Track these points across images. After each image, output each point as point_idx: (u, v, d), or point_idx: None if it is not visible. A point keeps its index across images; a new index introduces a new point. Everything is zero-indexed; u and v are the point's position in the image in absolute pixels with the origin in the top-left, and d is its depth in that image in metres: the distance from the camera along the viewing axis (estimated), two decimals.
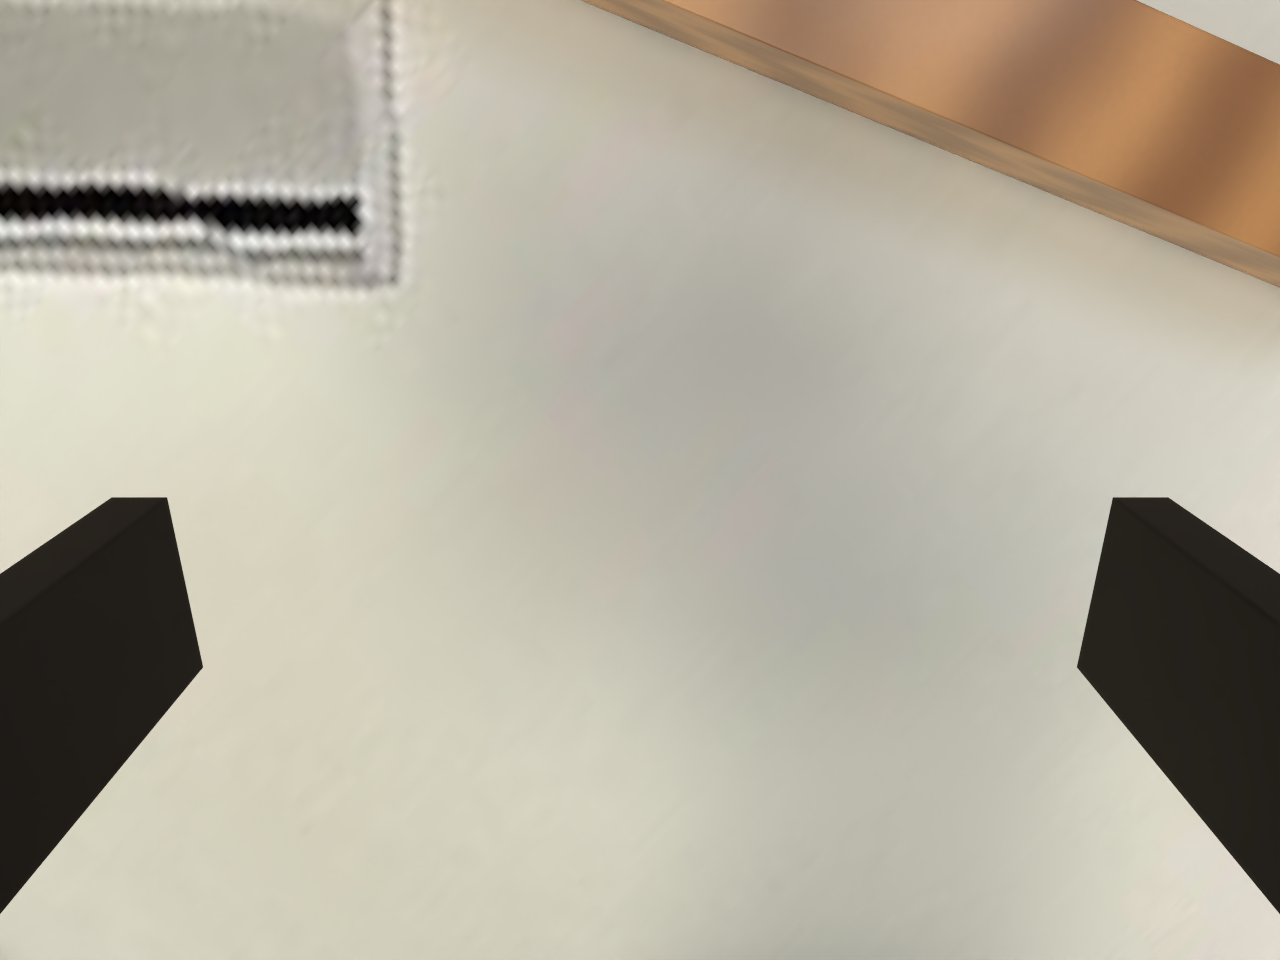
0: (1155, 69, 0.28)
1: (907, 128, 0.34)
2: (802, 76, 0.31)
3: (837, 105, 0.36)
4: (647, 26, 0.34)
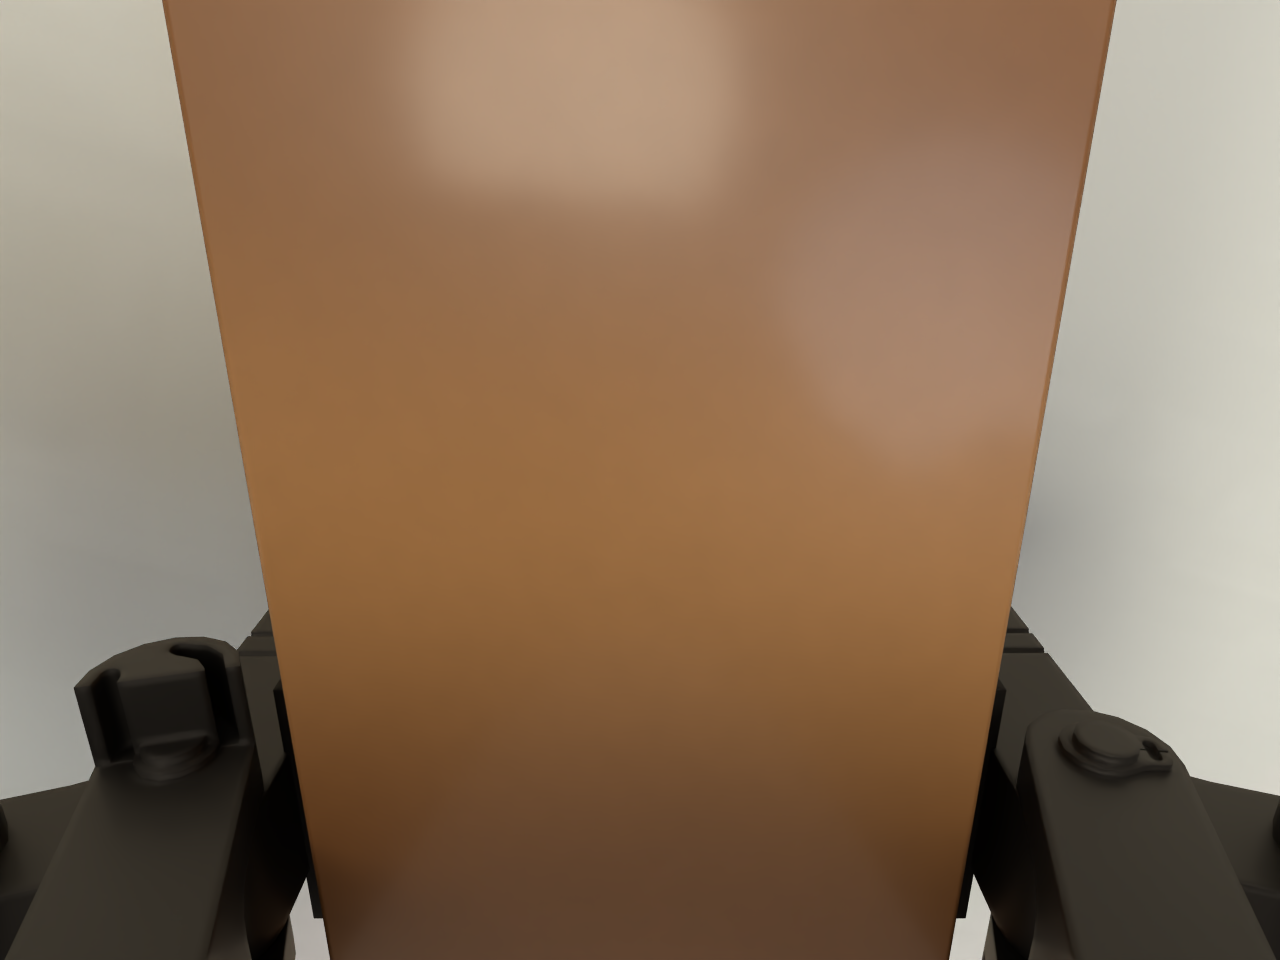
0: None
1: None
2: None
3: None
4: None
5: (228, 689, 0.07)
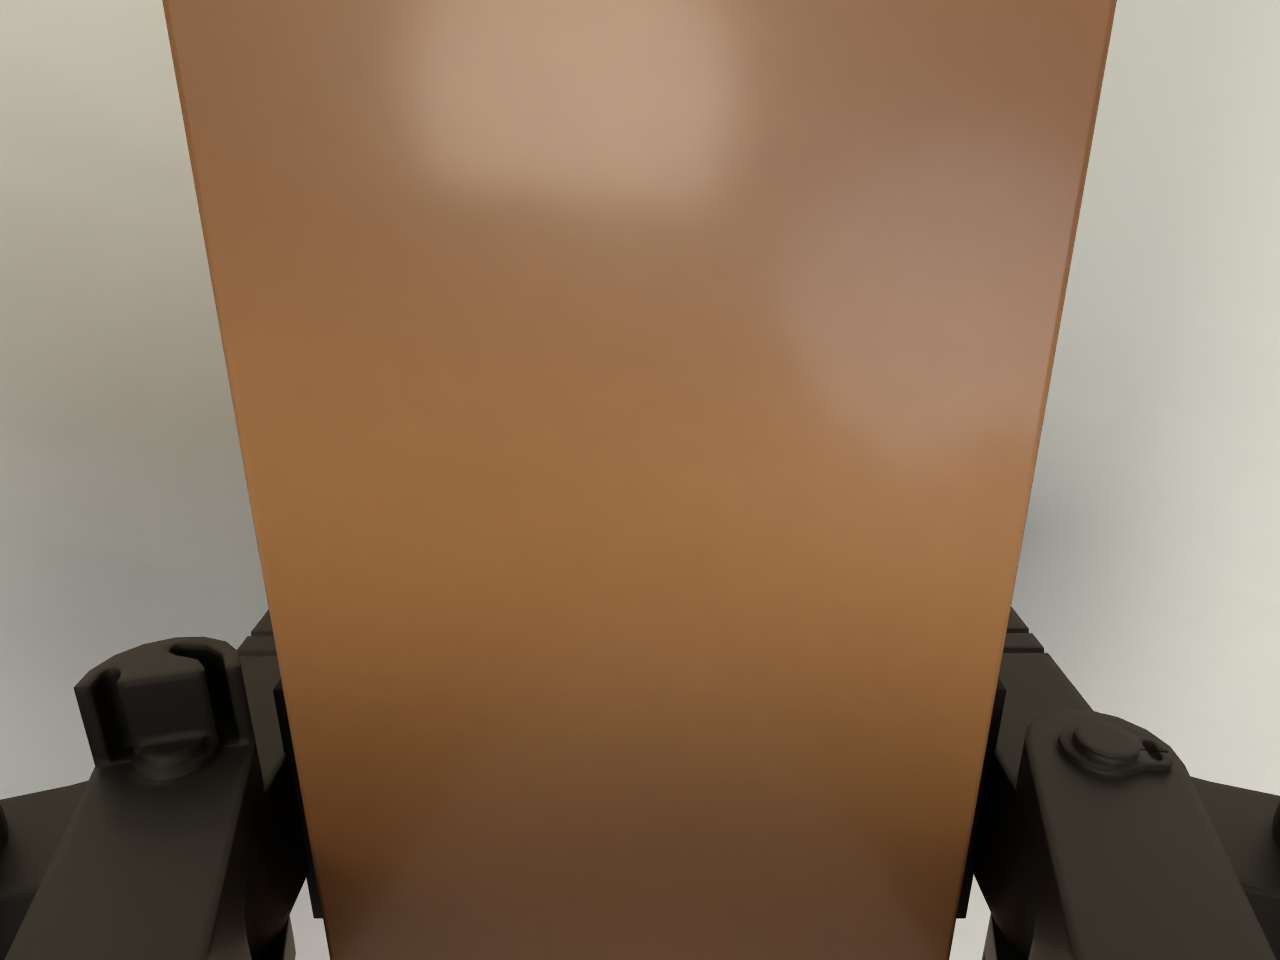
0: None
1: None
2: None
3: None
4: None
5: (228, 689, 0.07)
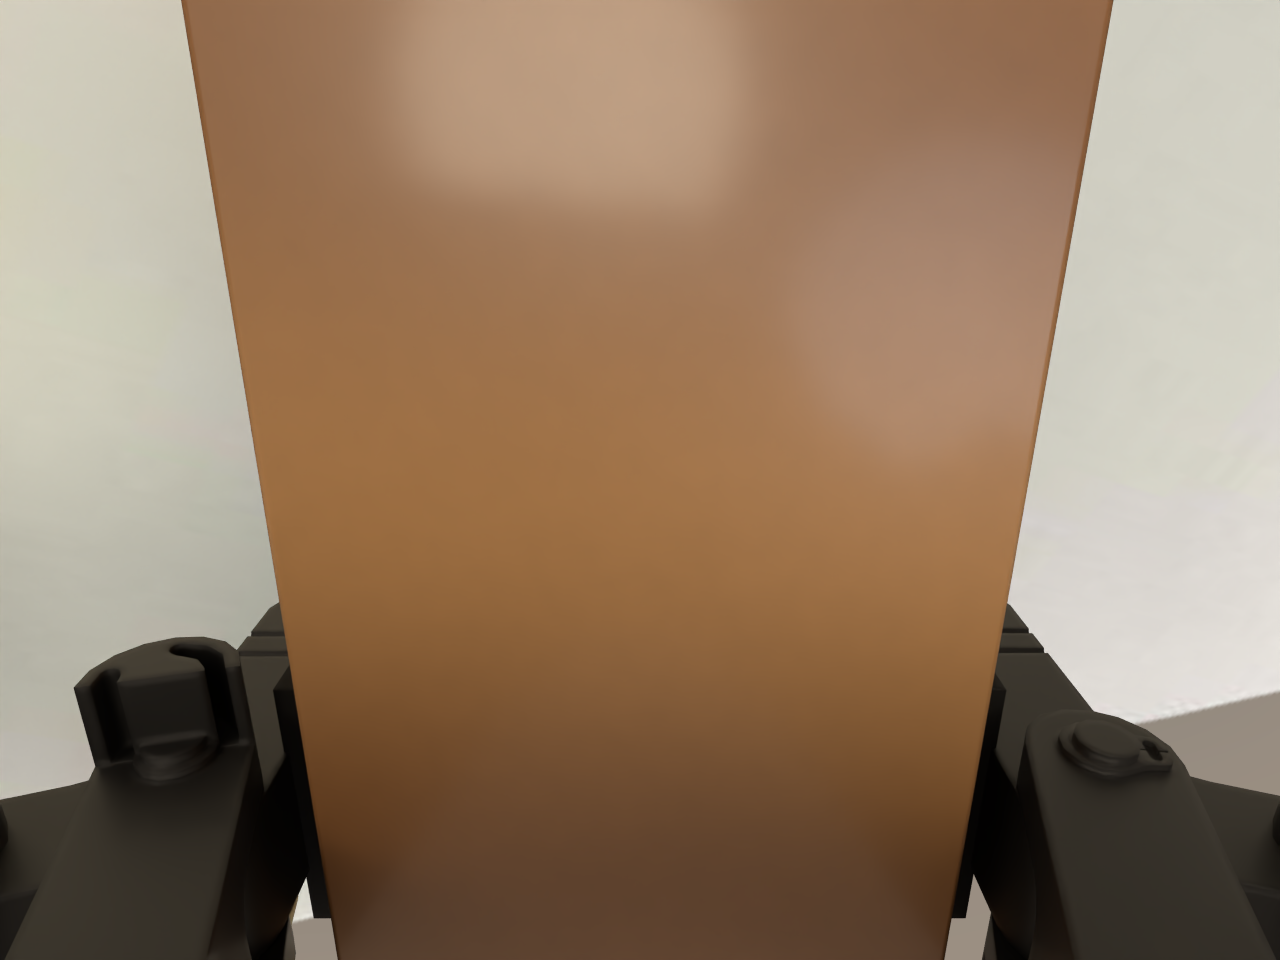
0: None
1: None
2: None
3: None
4: None
5: (227, 689, 0.07)
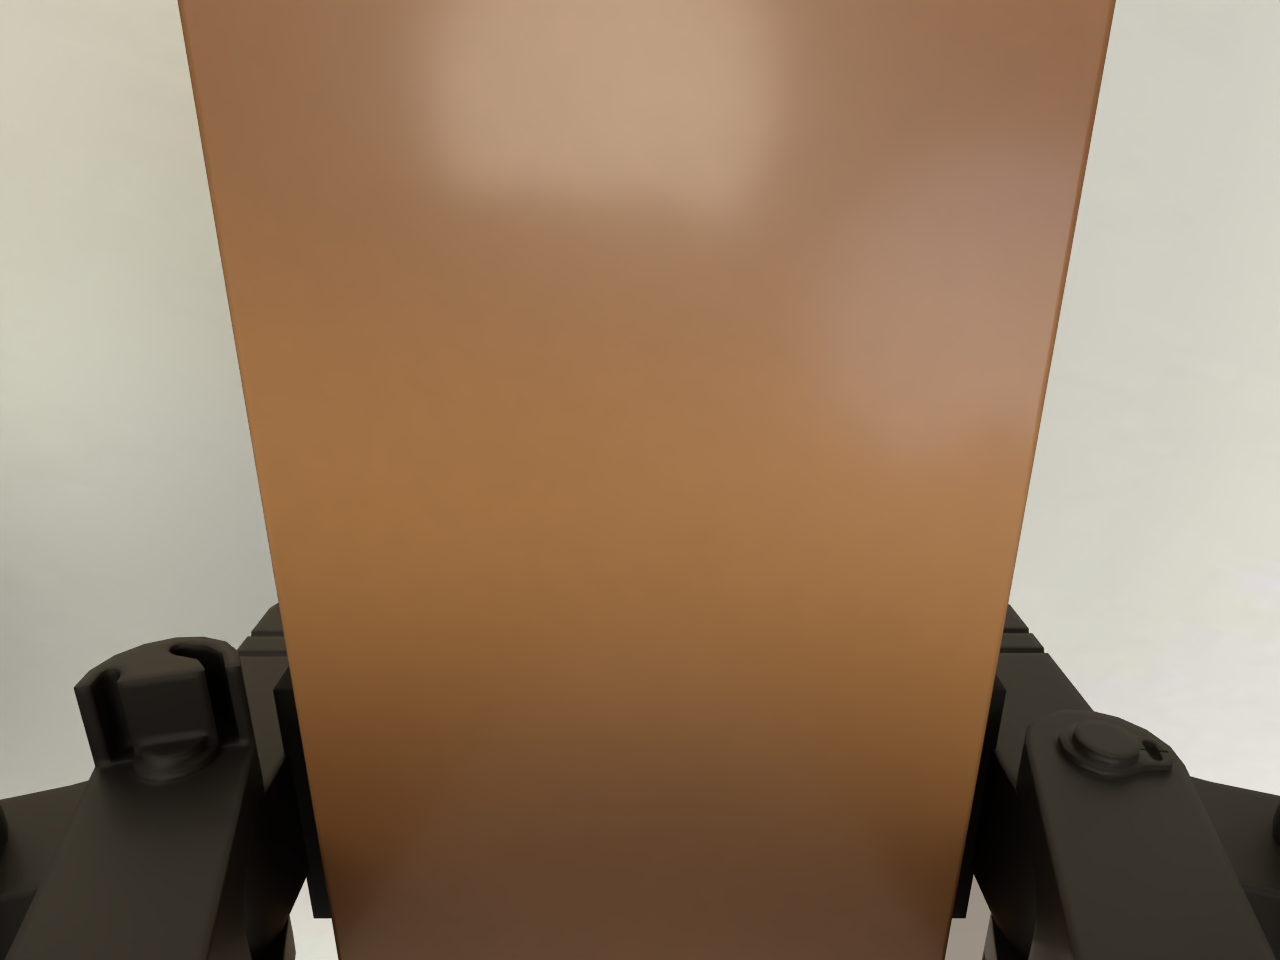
0: None
1: None
2: None
3: None
4: None
5: (227, 689, 0.07)
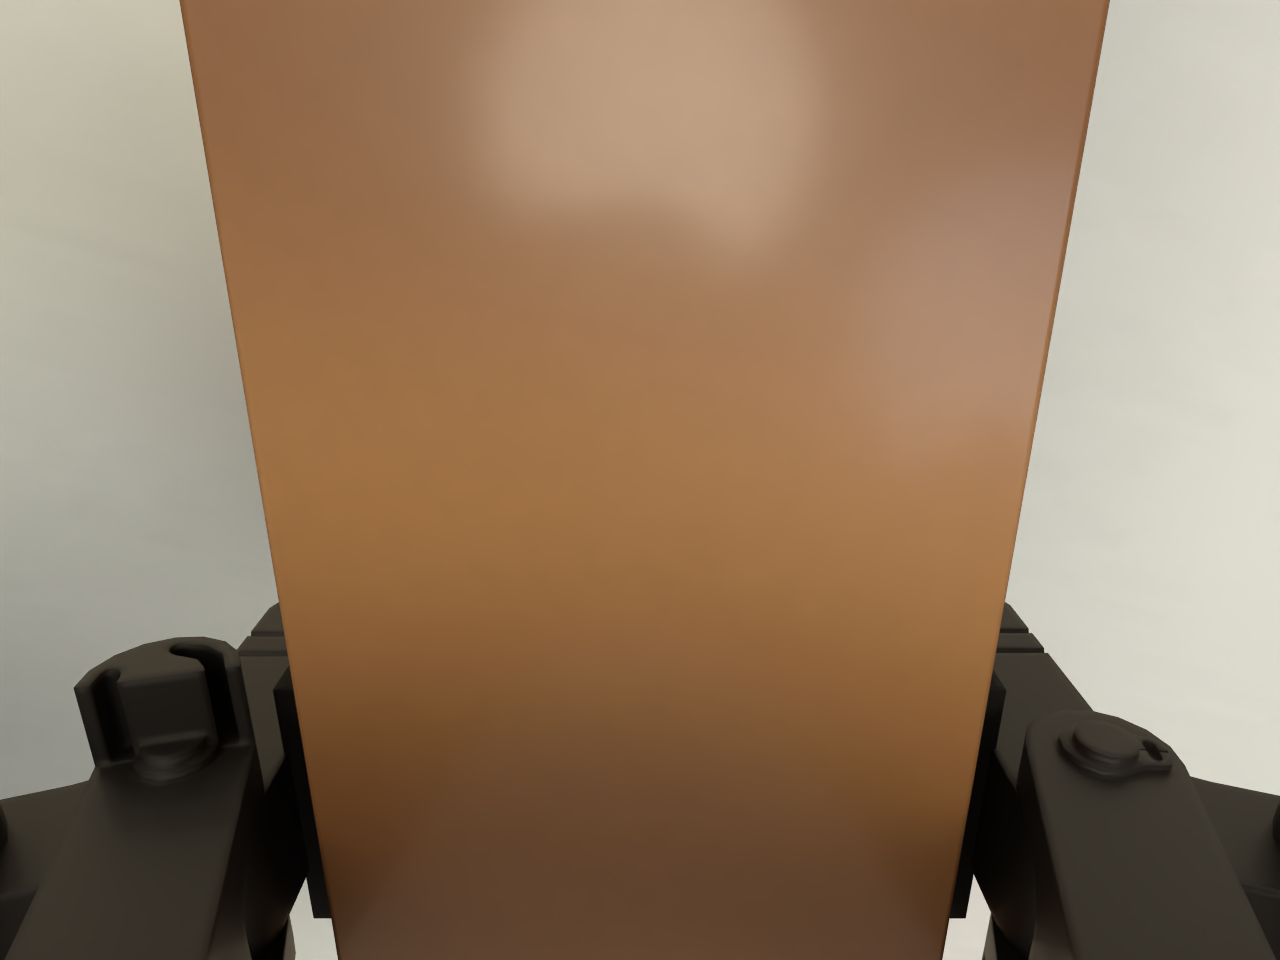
0: None
1: None
2: None
3: None
4: None
5: (228, 689, 0.07)
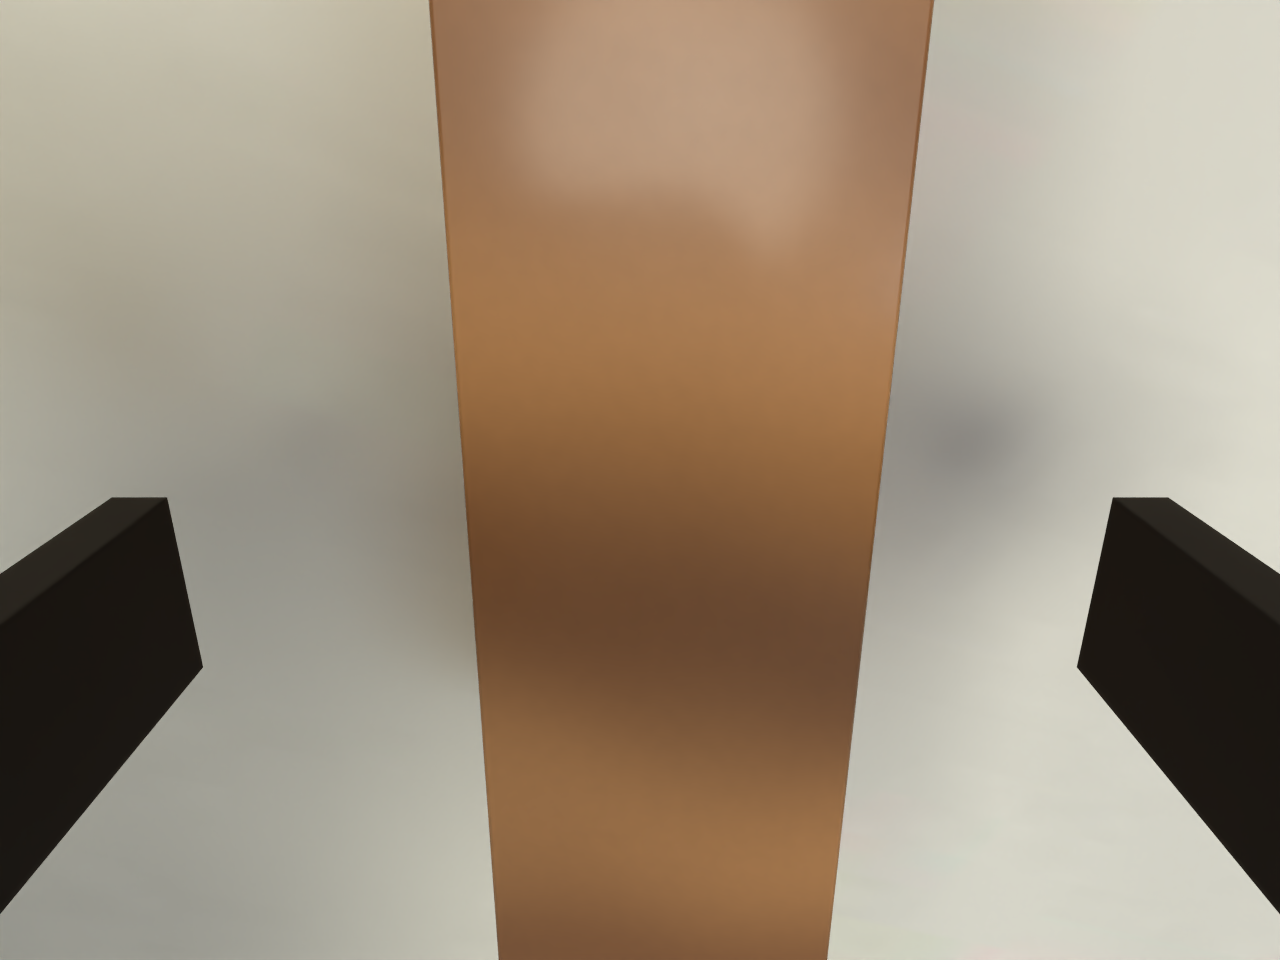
0: None
1: None
2: None
3: None
4: None
5: None
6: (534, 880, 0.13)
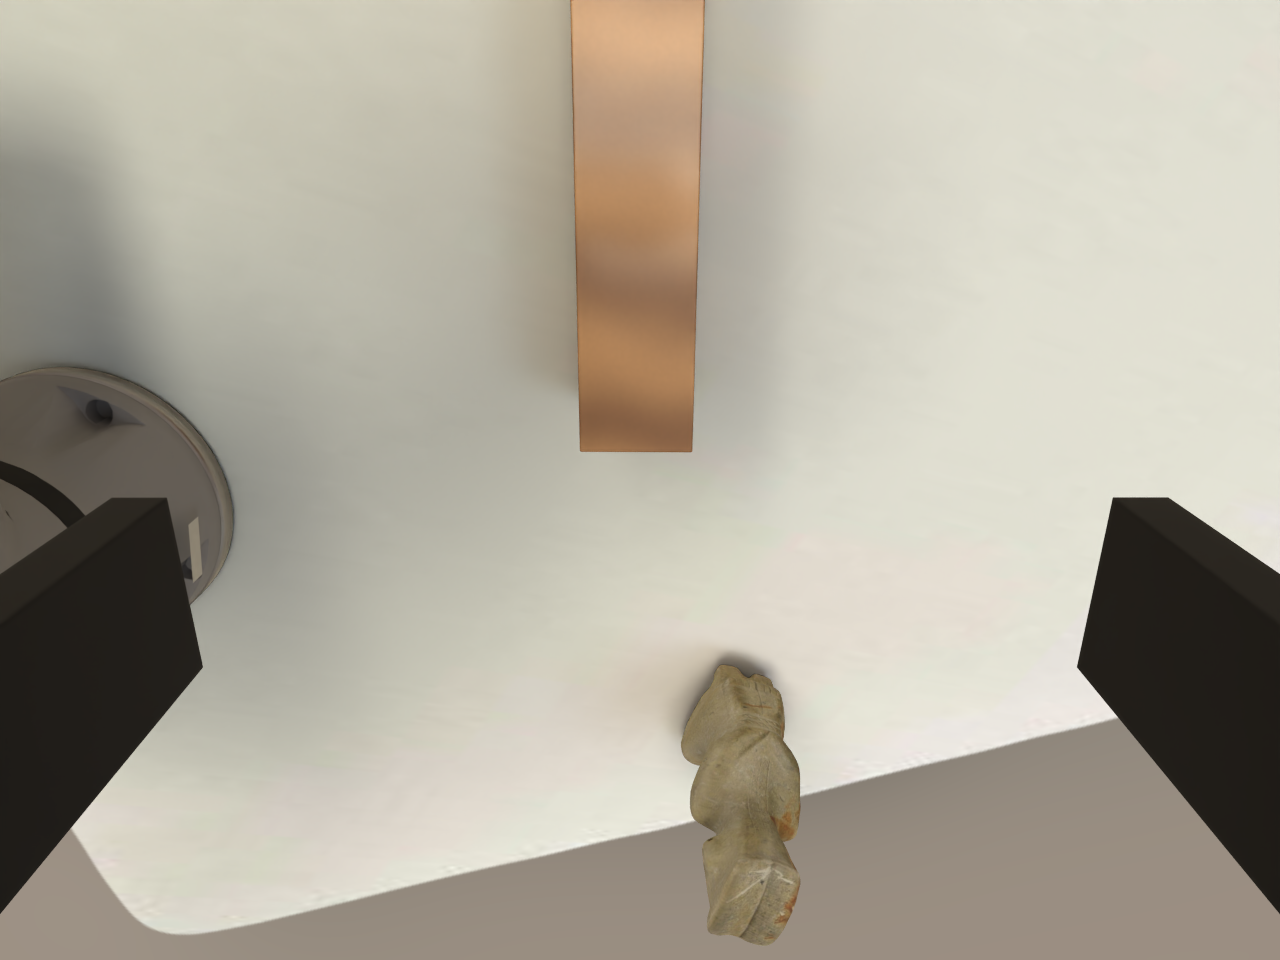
0: (664, 36, 0.33)
1: None
2: None
3: None
4: None
5: None
6: (593, 386, 0.38)
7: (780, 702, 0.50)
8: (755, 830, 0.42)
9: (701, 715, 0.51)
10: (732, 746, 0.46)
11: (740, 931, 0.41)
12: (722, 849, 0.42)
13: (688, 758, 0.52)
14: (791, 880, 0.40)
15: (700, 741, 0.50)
